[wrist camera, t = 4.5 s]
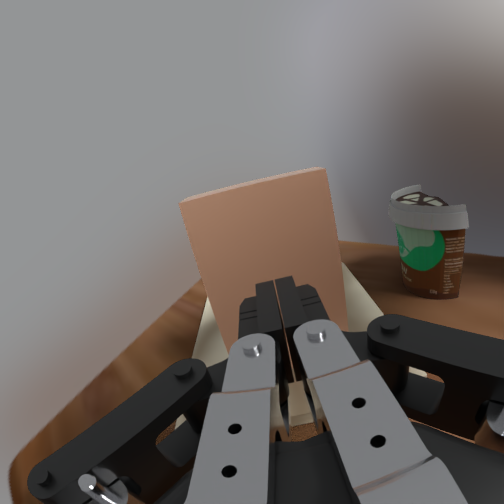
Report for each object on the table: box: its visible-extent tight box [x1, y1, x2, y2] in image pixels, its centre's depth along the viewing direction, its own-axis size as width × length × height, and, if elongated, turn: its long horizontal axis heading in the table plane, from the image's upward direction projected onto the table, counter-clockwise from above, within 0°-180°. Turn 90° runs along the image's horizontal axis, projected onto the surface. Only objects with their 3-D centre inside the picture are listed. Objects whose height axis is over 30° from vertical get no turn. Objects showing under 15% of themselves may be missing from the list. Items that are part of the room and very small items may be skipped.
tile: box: [179, 167, 349, 369], centre depth 20 cm, size 9×3×14 cm, turn 91°
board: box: [175, 263, 427, 429], centre depth 27 cm, size 18×22×1 cm
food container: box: [388, 185, 469, 299], centre depth 28 cm, size 12×6×10 cm, turn 171°
